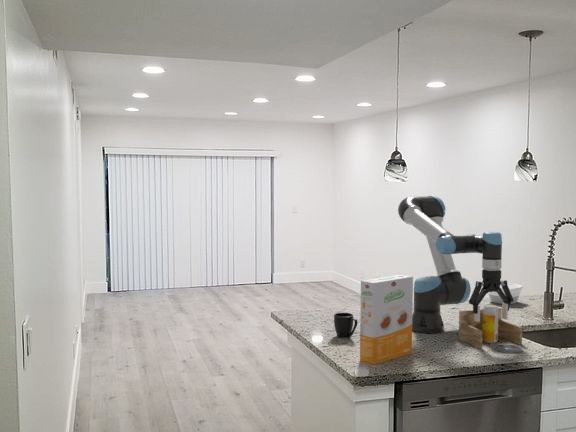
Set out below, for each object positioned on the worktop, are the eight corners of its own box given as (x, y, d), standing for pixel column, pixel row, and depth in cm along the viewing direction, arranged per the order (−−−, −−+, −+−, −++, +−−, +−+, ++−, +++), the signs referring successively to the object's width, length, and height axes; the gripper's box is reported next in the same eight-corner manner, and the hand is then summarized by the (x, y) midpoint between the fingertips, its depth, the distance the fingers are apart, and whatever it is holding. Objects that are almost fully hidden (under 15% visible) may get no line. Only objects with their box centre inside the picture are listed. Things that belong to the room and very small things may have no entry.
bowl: (497, 297, 334) (498, 281, 333) (527, 302, 320) (527, 285, 319) (480, 301, 322) (481, 284, 321) (510, 307, 309) (511, 289, 308)
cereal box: (399, 349, 231) (400, 274, 229) (411, 352, 226) (413, 276, 225) (360, 360, 217) (360, 280, 215) (372, 364, 212) (373, 283, 210)
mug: (348, 342, 241) (348, 319, 240) (330, 335, 251) (330, 314, 250) (363, 339, 246) (363, 317, 245) (344, 333, 255) (344, 311, 255)
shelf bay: (479, 348, 233) (480, 318, 232) (458, 338, 247) (459, 310, 246) (521, 344, 239) (522, 315, 238) (499, 335, 253) (499, 307, 252)
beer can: (485, 338, 247) (486, 303, 246) (499, 341, 243) (500, 305, 242) (479, 341, 242) (480, 306, 242) (494, 344, 239) (495, 308, 238)
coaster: (506, 354, 225) (506, 352, 225) (490, 347, 235) (490, 345, 235) (528, 351, 228) (528, 350, 228) (511, 344, 238) (511, 343, 238)
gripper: (471, 271, 234) (470, 324, 235) (522, 269, 241) (522, 319, 242) (460, 269, 241) (459, 320, 242) (510, 266, 248) (510, 316, 249)
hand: (491, 320), depth 242 cm, fingers open, 13 cm apart
